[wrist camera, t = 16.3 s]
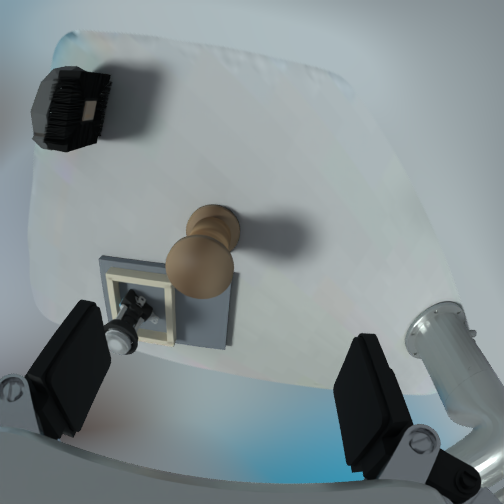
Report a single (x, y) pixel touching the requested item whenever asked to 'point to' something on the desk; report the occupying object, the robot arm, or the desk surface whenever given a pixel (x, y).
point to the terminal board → (165, 305)
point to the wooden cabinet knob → (204, 253)
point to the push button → (128, 324)
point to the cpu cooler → (69, 109)
